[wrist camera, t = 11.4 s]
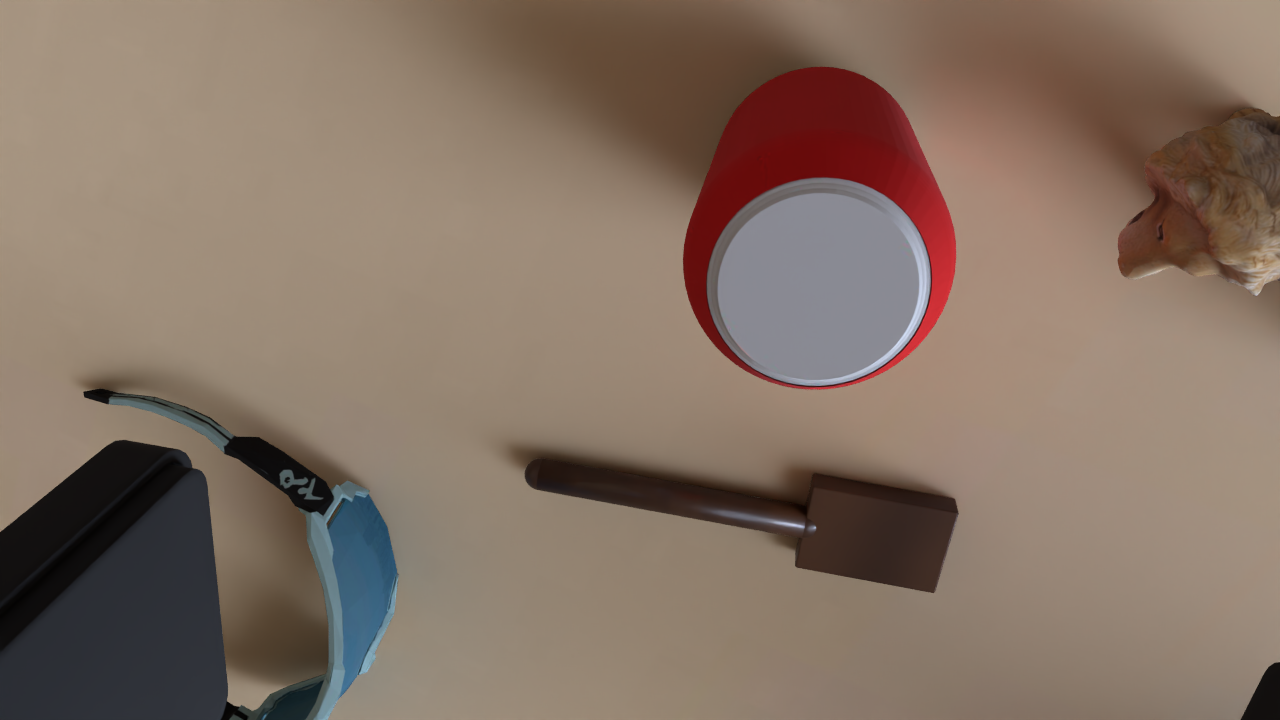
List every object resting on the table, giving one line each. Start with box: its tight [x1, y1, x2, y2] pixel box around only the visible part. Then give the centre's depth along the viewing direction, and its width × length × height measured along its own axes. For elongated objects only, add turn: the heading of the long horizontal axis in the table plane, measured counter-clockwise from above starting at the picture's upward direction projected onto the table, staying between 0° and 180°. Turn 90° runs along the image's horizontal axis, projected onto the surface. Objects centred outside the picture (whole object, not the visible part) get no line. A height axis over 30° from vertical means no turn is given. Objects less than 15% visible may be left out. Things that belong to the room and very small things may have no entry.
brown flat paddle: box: [525, 458, 959, 593], centre depth 38 cm, size 16×4×1 cm, turn 83°
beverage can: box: [683, 67, 956, 389], centre depth 27 cm, size 6×6×12 cm
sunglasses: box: [84, 389, 399, 720], centre depth 41 cm, size 14×15×5 cm
